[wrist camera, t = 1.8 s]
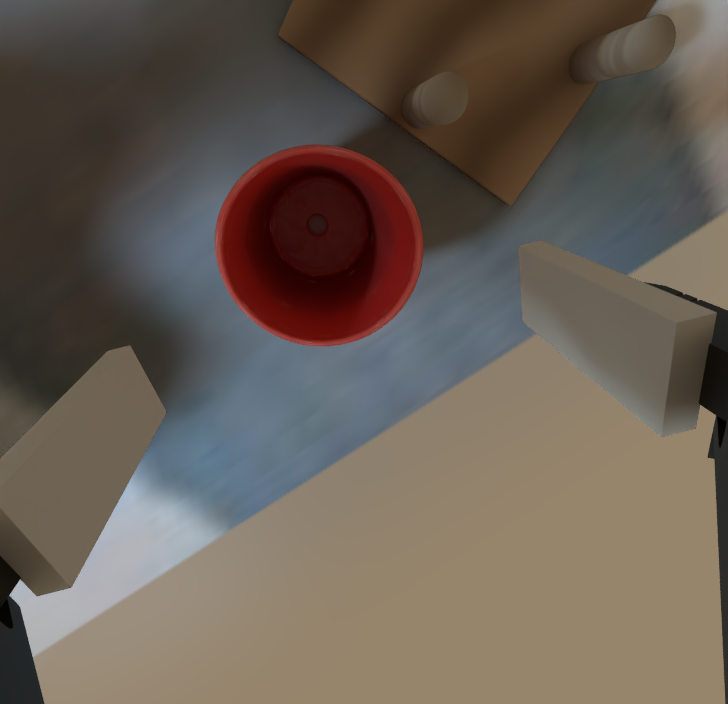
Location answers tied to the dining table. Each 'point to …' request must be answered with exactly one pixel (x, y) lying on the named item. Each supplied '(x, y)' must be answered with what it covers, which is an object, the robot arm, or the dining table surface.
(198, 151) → the dining table surface
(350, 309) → the flower pot
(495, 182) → the plant stand
